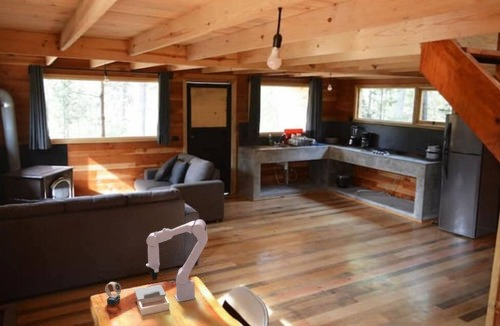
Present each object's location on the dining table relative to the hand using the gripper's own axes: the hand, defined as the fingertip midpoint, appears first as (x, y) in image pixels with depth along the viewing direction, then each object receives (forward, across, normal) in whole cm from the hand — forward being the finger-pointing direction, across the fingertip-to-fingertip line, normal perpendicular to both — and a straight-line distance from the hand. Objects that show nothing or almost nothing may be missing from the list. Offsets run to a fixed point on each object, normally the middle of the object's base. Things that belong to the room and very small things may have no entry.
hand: (154, 279), depth 221 cm
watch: (+11, -4, -21) cm, 24 cm away
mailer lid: (+6, +2, -3) cm, 7 cm away
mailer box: (+10, +10, -3) cm, 15 cm away
